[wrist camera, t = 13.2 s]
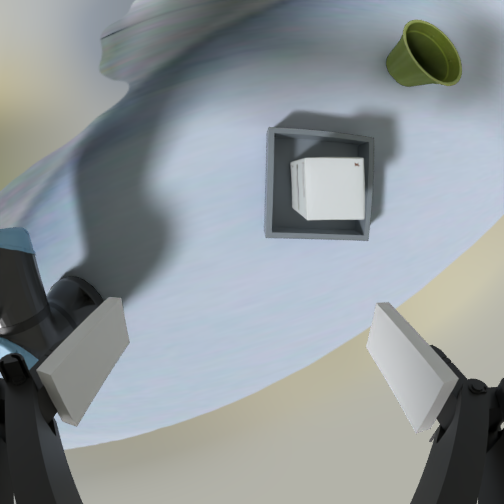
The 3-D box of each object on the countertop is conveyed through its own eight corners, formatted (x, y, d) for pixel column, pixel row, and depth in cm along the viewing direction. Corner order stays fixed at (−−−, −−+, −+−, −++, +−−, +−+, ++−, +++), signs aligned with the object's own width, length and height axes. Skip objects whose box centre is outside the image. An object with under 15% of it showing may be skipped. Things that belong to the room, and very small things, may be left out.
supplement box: (288, 161, 41) (303, 154, 29) (335, 161, 41) (366, 156, 28) (290, 208, 43) (305, 221, 30) (336, 207, 43) (366, 220, 30)
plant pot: (394, 105, 38) (428, 90, 27) (363, 48, 35) (389, 21, 25) (436, 93, 37) (472, 81, 26) (408, 40, 34) (438, 19, 23)
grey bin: (264, 231, 44) (265, 237, 39) (266, 132, 40) (268, 127, 35) (356, 234, 44) (368, 240, 39) (361, 141, 40) (373, 137, 35)
